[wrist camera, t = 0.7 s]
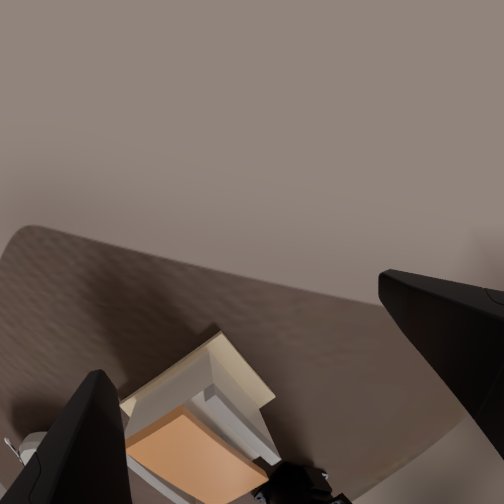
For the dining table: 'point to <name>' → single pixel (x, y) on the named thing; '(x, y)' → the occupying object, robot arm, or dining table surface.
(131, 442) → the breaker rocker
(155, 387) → the box
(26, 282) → the dining table surface
